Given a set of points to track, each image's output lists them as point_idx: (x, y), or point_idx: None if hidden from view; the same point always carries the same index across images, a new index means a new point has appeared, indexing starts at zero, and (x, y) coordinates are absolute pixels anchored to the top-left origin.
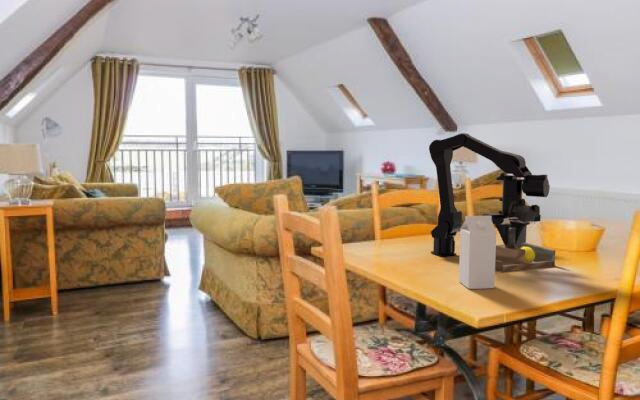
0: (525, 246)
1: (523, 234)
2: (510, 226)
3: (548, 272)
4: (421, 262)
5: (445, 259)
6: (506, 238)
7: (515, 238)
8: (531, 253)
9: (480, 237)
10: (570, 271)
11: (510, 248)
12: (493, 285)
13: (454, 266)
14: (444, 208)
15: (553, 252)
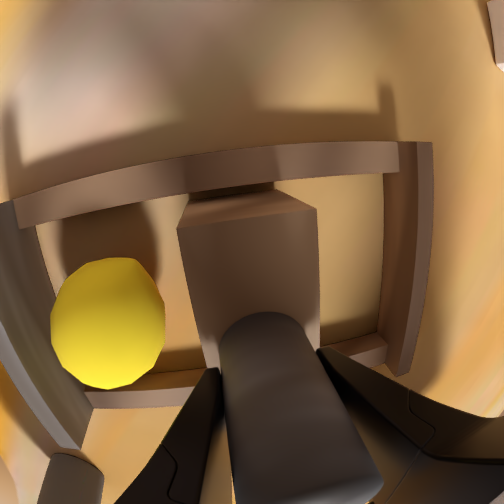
0: (69, 419)
1: (49, 500)
2: (481, 459)
3: (128, 56)
4: (494, 344)
5: (427, 385)
6: (371, 373)
7: (220, 407)
8: (85, 281)
9: None
10: (12, 78)
11: (287, 312)
12: (493, 1)
13: (475, 287)
14: None
15: None
